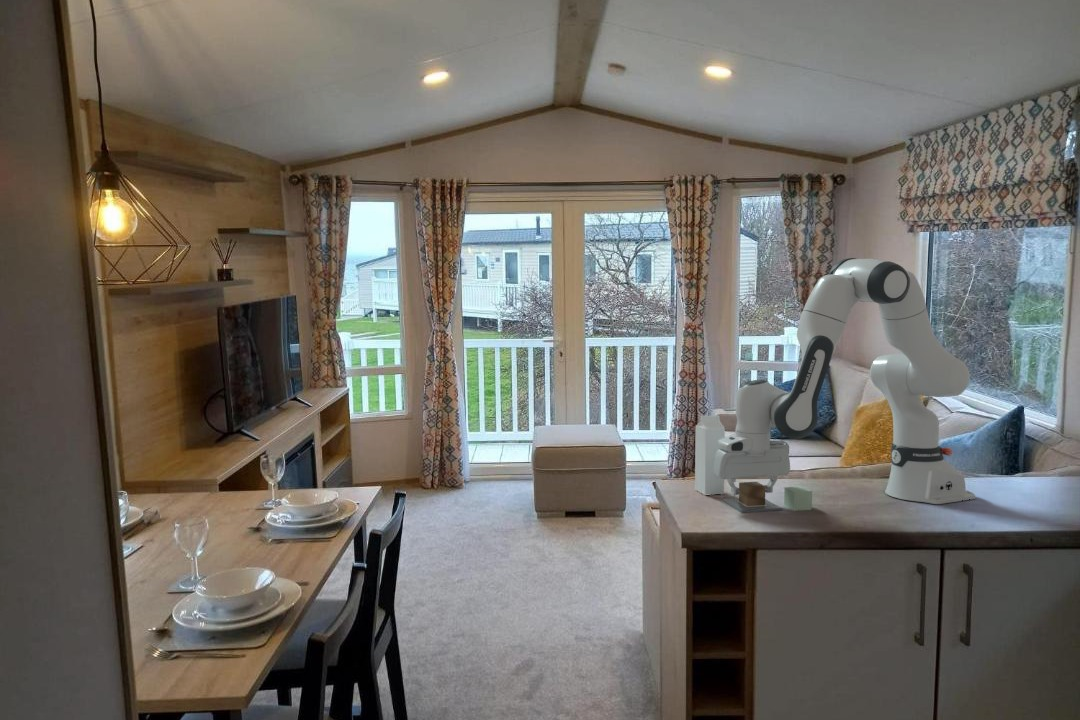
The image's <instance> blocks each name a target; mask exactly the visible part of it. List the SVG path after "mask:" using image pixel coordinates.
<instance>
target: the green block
mask: <svg viewBox="0 0 1080 720" xmlns="http://www.w3.org/2000/svg"><path fill="white" fill-rule="evenodd" d="M783 495H784V497H783V498H784V499H783V500H784V503H783V504H784V505H785V507H786V508H788V509H789V510H792V511H793V510H794V511H793V512H797V511H798V510H799V511H812V510H813V491H812V490H811V489H809V488H807V487H804V486H803V485H799V486H797V485H796V486H785V487H784V494H783ZM784 505H783V506H784ZM811 509H812V510H811Z"/></svg>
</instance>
